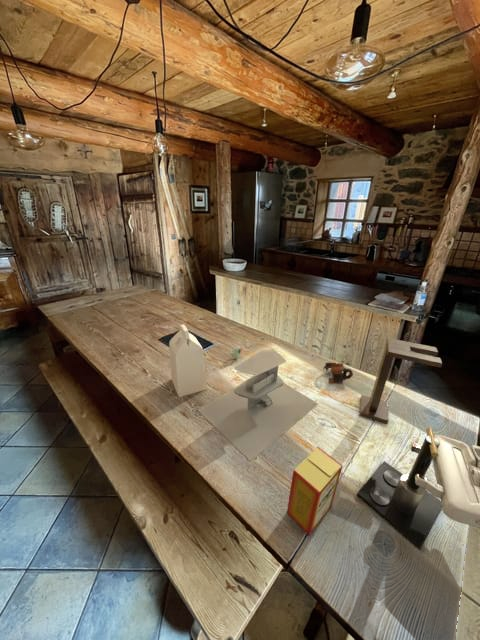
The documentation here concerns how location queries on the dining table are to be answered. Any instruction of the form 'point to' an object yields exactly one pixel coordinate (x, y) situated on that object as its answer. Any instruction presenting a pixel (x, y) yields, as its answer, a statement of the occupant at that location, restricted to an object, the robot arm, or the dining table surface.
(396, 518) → the stove
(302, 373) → the dining table surface
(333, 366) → the pottery mug
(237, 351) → the robot head
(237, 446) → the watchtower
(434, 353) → the stand
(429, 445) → the handle in metal cup
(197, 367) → the milk
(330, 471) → the baking soda box
